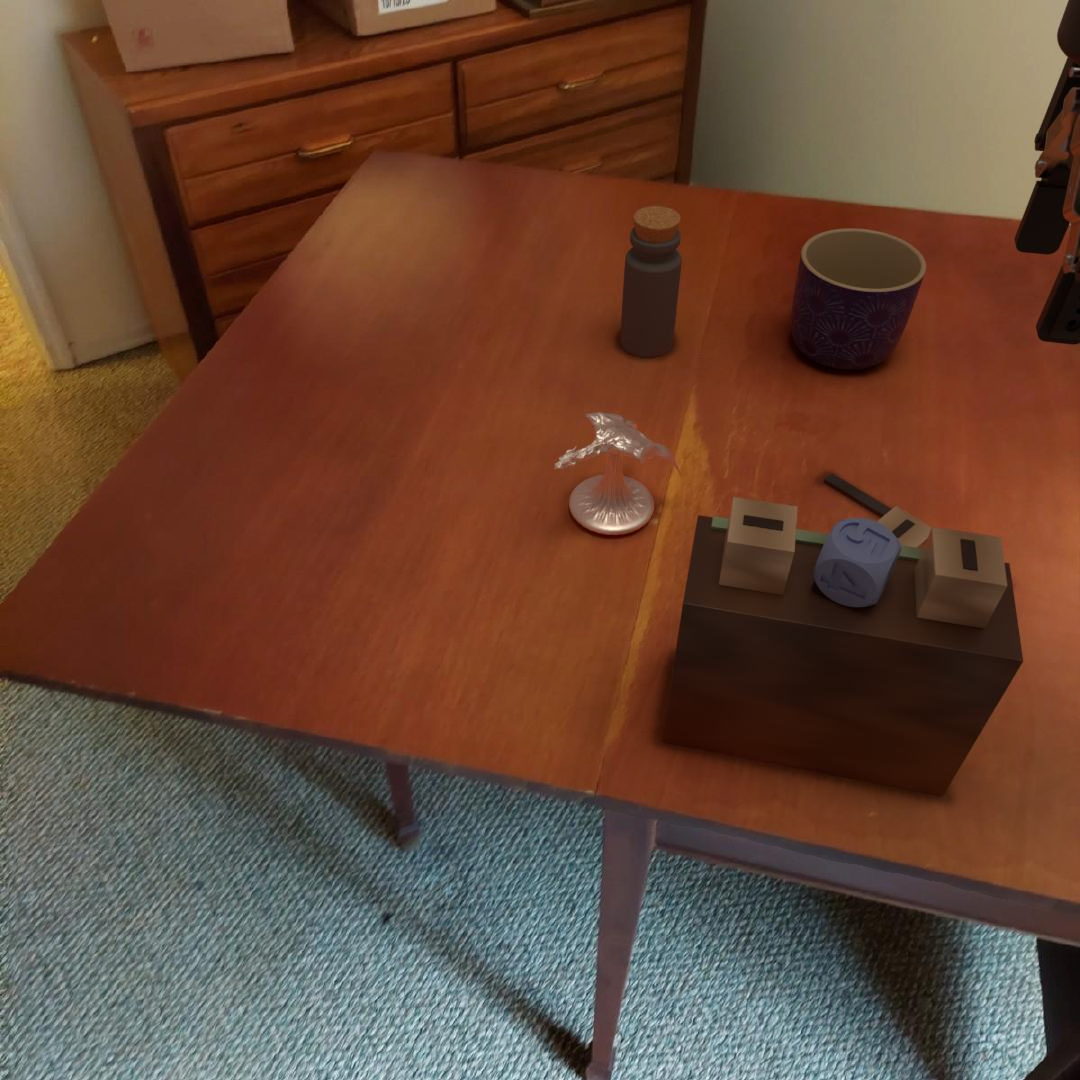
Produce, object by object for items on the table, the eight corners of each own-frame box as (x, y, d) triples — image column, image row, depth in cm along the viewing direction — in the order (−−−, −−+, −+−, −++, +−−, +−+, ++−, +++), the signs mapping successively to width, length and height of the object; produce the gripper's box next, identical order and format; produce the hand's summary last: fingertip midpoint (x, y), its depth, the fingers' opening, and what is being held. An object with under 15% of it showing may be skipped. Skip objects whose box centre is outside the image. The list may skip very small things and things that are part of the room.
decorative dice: (869, 618, 58) (885, 574, 55) (807, 591, 60) (820, 547, 57) (891, 576, 60) (908, 532, 58) (830, 551, 62) (844, 507, 59)
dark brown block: (937, 704, 73) (1033, 517, 58) (942, 796, 67) (1050, 617, 53) (675, 657, 76) (705, 469, 62) (661, 742, 71) (689, 558, 56)
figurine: (683, 508, 88) (694, 428, 81) (580, 565, 83) (582, 485, 76) (629, 463, 92) (635, 383, 85) (528, 514, 87) (526, 434, 80)
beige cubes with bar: (1005, 582, 81) (1022, 549, 78) (960, 626, 78) (976, 594, 75) (831, 476, 91) (840, 443, 88) (784, 512, 87) (792, 479, 84)
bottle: (671, 360, 104) (685, 233, 93) (617, 356, 104) (624, 228, 93) (674, 330, 108) (688, 204, 97) (622, 325, 108) (630, 200, 97)
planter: (801, 305, 111) (820, 217, 103) (909, 333, 107) (938, 243, 99) (767, 362, 103) (785, 272, 95) (882, 394, 99) (911, 302, 91)
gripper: (1374, -4, 32) (1152, 384, 44) (1252, -112, 42) (1097, 231, 53) (1135, -17, 33) (982, 364, 45) (1070, -120, 43) (957, 217, 55)
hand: (1044, 291), depth 49 cm, fingers open, 8 cm apart
